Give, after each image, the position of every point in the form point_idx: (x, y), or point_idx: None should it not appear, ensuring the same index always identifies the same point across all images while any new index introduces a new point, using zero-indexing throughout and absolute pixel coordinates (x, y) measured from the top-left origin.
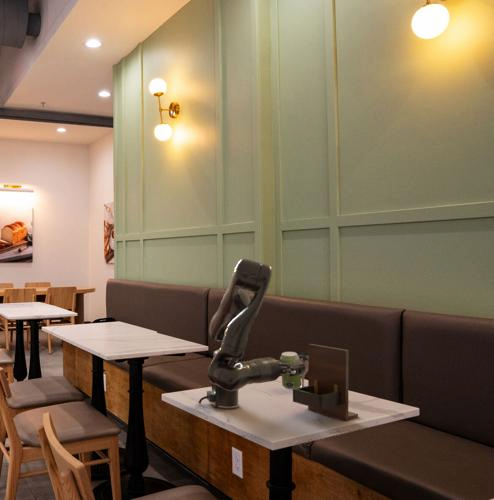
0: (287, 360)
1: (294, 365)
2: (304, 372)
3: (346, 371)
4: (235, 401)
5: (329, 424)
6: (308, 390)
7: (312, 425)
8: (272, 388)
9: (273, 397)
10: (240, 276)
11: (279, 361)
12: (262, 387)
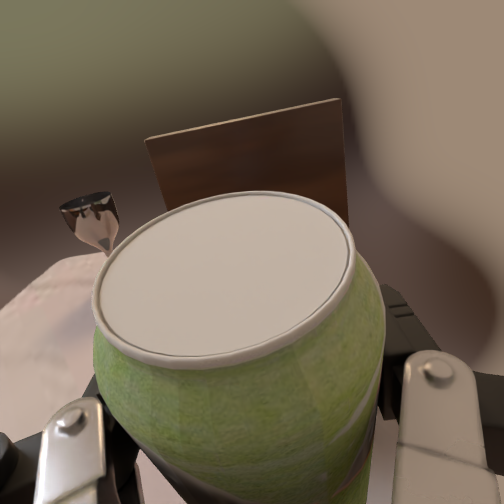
0: (320, 421)
1: (482, 432)
2: (110, 242)
3: (345, 192)
4: None
5: (377, 415)
6: None
7: (373, 498)
8: (51, 322)
9: (76, 370)
10: None
11: (104, 423)
12: (21, 336)
